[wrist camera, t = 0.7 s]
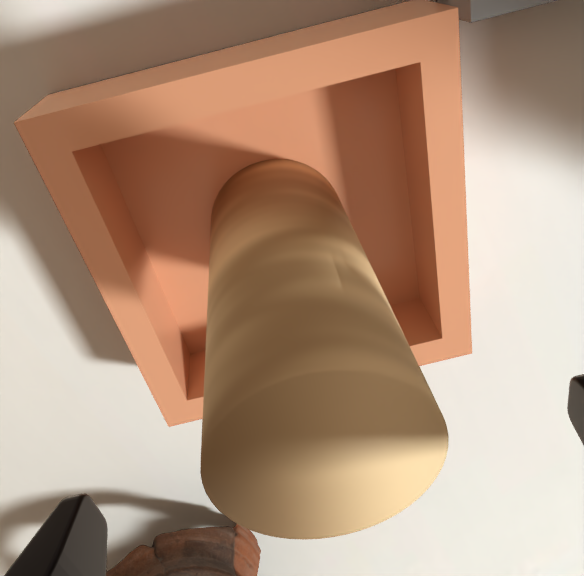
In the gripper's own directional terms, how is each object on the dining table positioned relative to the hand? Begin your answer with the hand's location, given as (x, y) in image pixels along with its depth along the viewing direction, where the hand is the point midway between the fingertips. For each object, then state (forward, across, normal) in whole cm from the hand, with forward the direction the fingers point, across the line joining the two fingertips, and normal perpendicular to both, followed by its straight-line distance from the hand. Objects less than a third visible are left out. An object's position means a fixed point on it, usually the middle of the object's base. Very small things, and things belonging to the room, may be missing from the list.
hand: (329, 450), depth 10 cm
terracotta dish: (+10, 0, 0) cm, 10 cm away
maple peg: (+10, 0, 0) cm, 10 cm away
